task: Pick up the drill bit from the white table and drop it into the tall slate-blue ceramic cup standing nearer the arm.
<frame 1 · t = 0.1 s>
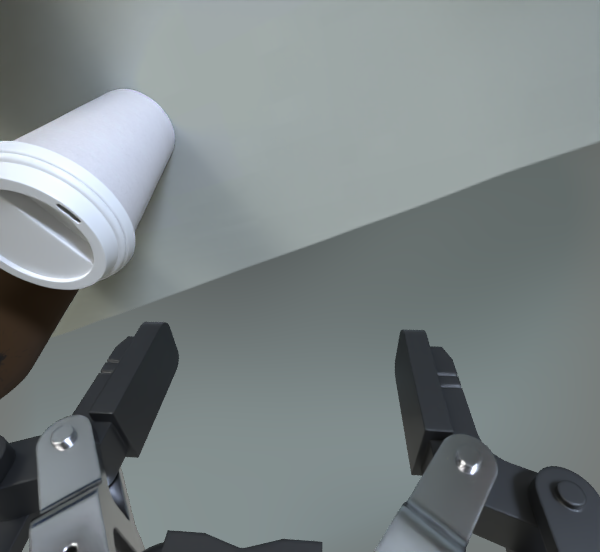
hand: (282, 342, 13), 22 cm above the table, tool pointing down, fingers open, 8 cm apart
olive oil: (60, 226, 39), on the table
coffee cup: (137, 128, 31), on the table
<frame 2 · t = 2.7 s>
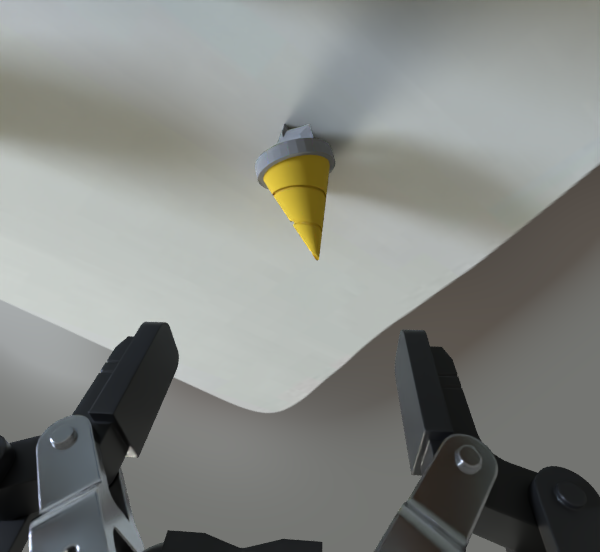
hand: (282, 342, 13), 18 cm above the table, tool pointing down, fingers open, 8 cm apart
drill bit: (308, 164, 27), on the table
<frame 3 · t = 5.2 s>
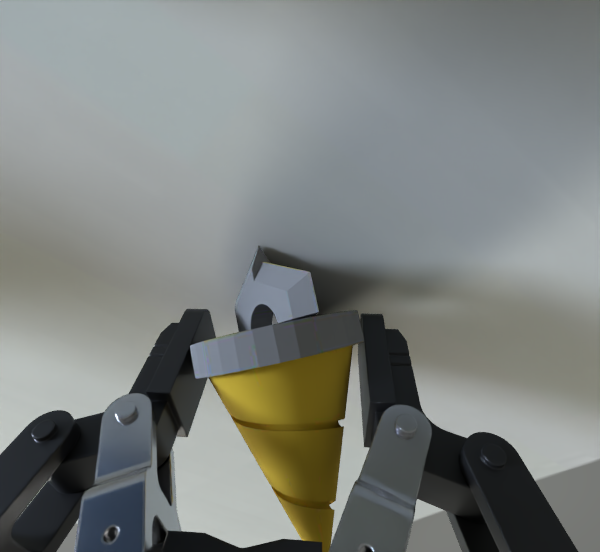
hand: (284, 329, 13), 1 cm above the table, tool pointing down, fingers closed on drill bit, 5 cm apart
drill bit: (308, 310, 14), on the table, touching gripper
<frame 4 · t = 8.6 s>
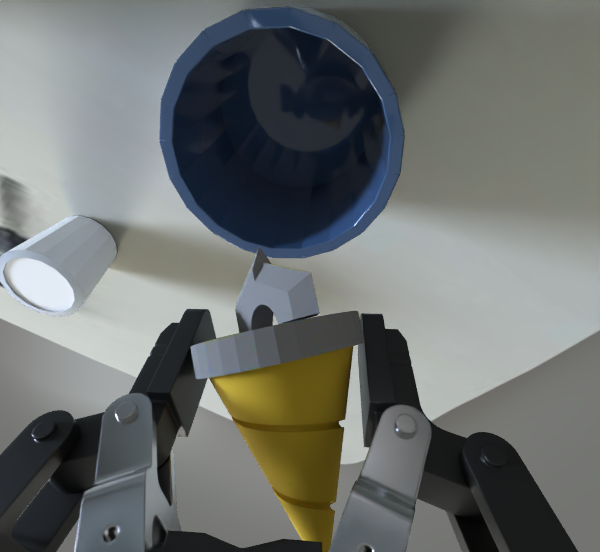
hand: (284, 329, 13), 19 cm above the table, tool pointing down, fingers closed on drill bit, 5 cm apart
drill bit: (308, 310, 14), point 18 cm above the table, touching gripper
white cylinder: (89, 240, 35), on the table
cup: (298, 112, 26), on the table
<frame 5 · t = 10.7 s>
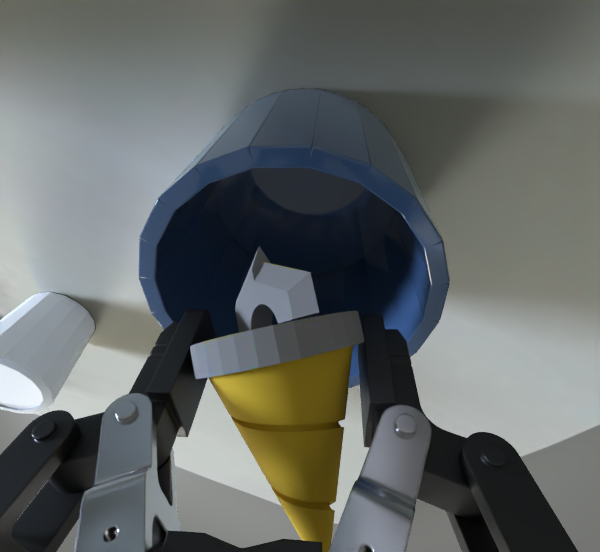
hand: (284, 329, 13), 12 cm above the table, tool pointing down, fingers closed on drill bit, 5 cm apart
drill bit: (308, 310, 14), point 11 cm above the table, touching gripper
white cylinder: (62, 316, 31), on the table
cup: (305, 196, 23), on the table
when the fingers open (8 cm above the table, at t = 12.2 s): drill bit drops 7 cm, resting on cup.
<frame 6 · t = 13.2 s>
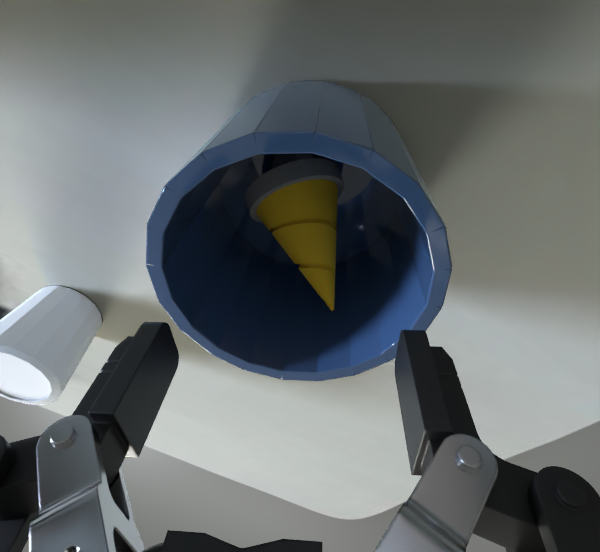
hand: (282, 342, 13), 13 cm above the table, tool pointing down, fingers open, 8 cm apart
drill bit: (312, 187, 22), point 1 cm above the table, touching cup
white cylinder: (70, 309, 32), on the table
cup: (309, 188, 23), on the table
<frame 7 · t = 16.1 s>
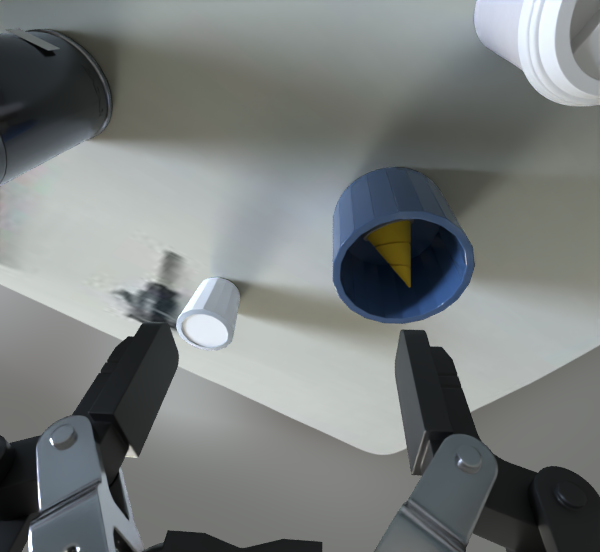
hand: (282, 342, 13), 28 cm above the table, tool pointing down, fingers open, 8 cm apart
drill bit: (391, 220, 40), point 1 cm above the table, touching cup
white cylinder: (219, 293, 49), on the table
coffee cup: (516, 4, 29), on the table
cup: (388, 220, 41), on the table
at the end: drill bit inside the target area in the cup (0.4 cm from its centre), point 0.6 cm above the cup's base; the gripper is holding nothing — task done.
